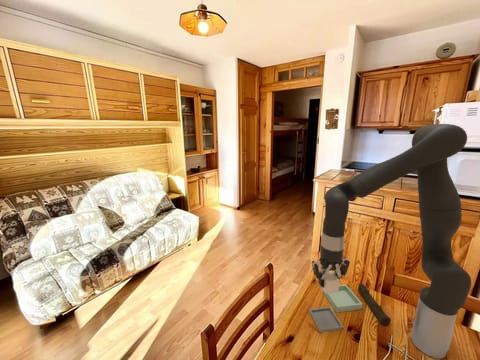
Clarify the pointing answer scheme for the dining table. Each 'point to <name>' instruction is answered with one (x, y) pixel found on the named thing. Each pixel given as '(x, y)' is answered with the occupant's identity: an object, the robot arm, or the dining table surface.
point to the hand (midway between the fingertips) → (328, 284)
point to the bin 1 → (325, 319)
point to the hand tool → (374, 305)
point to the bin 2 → (344, 299)
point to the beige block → (331, 283)
